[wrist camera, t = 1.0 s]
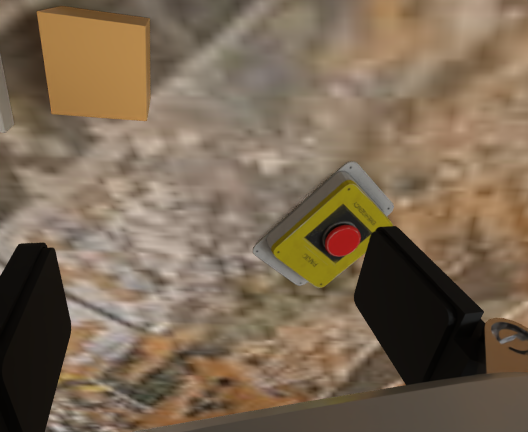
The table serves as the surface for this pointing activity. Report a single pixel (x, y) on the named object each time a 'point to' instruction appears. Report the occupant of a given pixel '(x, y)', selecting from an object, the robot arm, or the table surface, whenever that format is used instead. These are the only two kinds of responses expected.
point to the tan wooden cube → (96, 63)
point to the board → (4, 103)
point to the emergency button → (327, 228)
